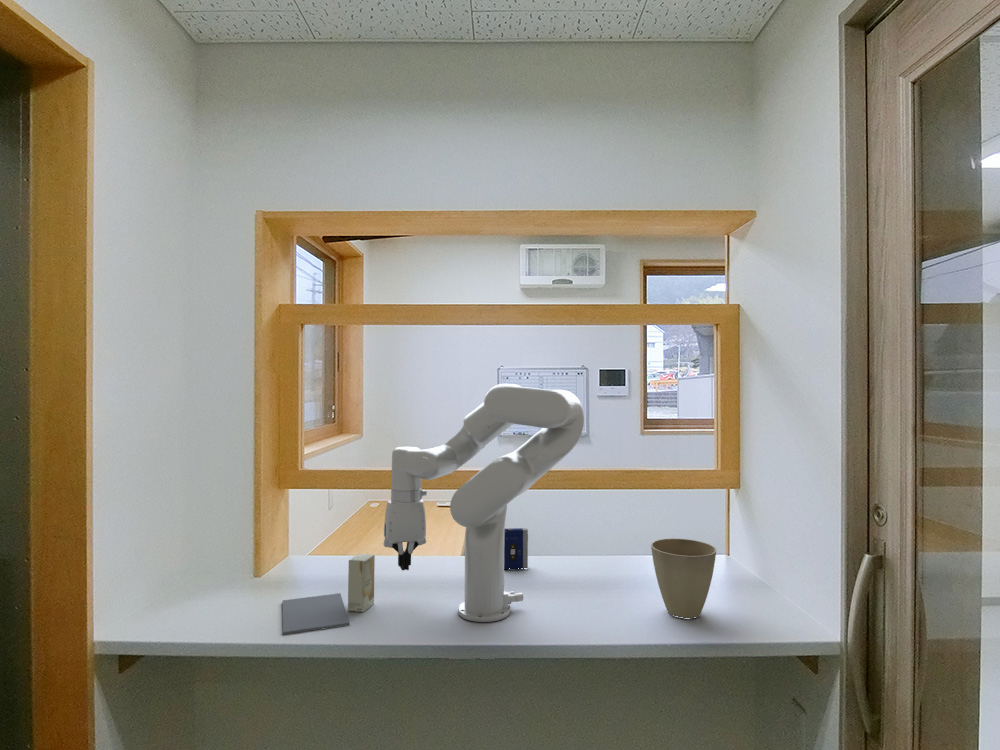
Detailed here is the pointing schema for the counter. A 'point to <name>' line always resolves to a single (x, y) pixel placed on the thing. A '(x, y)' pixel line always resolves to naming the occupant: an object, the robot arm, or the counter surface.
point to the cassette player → (516, 548)
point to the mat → (313, 613)
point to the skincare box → (361, 582)
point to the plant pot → (683, 574)
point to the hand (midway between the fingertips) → (404, 568)
